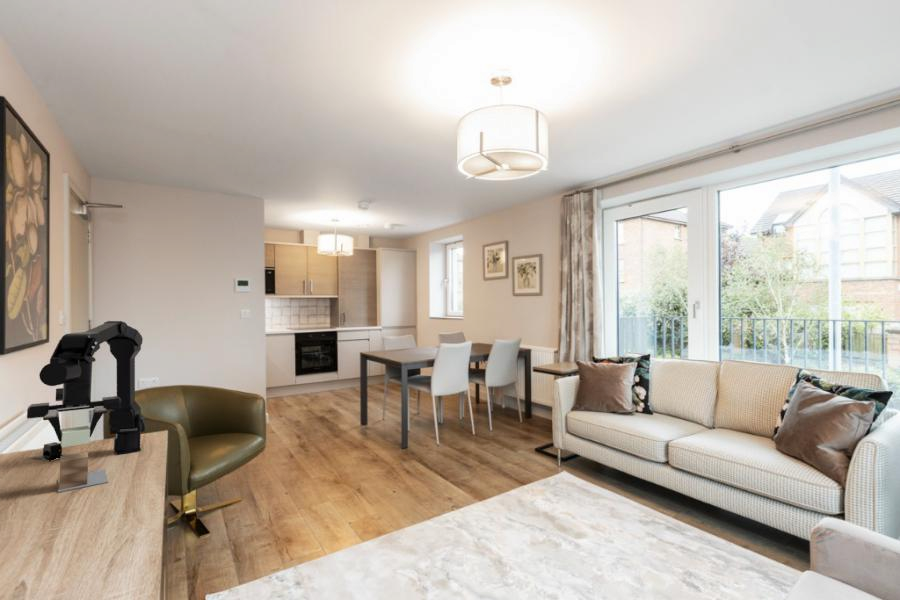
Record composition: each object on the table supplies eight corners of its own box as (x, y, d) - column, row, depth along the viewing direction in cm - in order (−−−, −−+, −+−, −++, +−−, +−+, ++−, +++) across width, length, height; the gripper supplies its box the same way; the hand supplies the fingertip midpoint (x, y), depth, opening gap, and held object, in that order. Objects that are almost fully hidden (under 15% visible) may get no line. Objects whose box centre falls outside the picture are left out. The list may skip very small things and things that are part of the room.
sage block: (87, 438, 118) (87, 425, 118) (89, 443, 114) (90, 429, 114) (60, 442, 114) (61, 429, 114) (61, 447, 110) (62, 433, 110)
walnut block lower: (86, 478, 117) (86, 465, 117) (87, 484, 113) (87, 470, 113) (59, 483, 114) (59, 469, 114) (59, 489, 109) (59, 475, 110)
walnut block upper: (86, 465, 117) (87, 451, 118) (87, 470, 113) (88, 456, 113) (59, 469, 114) (60, 456, 114) (59, 475, 110) (60, 461, 110)
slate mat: (104, 470, 124) (104, 469, 124) (108, 482, 115) (108, 481, 115) (58, 479, 117) (58, 478, 117) (57, 492, 108) (57, 491, 108)
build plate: (77, 458, 137) (77, 443, 137) (48, 465, 130) (49, 449, 130) (54, 452, 141) (54, 438, 141) (25, 459, 134) (26, 444, 135)
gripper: (118, 374, 127) (116, 427, 126) (30, 380, 114) (28, 439, 114) (122, 378, 119) (120, 435, 118) (28, 385, 106) (25, 448, 105)
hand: (75, 439), depth 114 cm, fingers closed on sage block, 6 cm apart
